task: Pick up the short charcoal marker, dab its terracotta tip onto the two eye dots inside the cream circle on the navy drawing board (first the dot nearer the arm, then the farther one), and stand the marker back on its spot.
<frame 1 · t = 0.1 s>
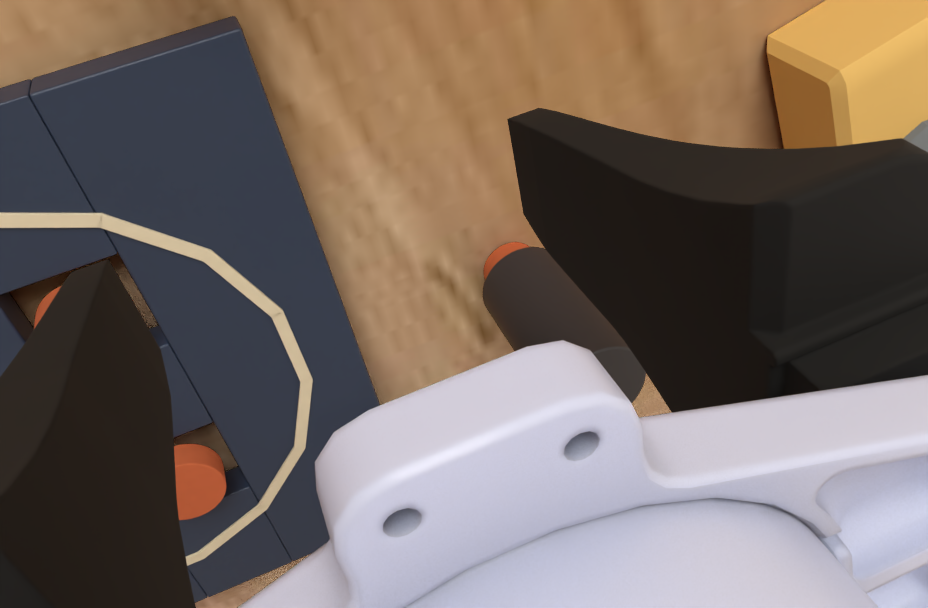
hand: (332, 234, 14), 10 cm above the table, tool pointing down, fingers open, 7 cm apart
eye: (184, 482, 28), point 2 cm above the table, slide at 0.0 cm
rubber stamp: (841, 113, 31), on the table
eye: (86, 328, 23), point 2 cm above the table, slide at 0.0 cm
marker: (509, 265, 29), on the table
face board: (76, 404, 26), on the table
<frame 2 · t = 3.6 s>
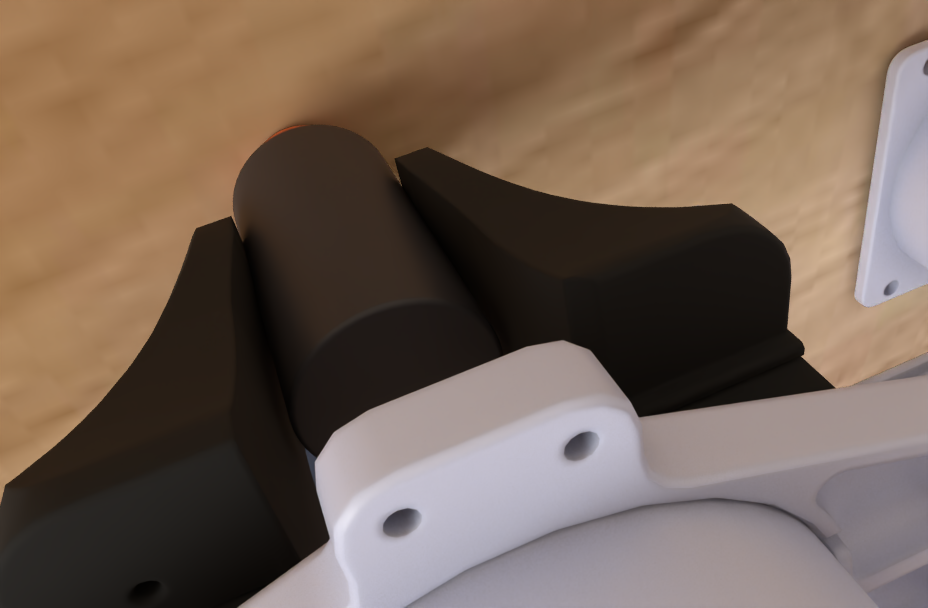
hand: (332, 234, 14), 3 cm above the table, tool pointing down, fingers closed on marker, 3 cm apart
marker: (302, 171, 16), on the table, touching gripper
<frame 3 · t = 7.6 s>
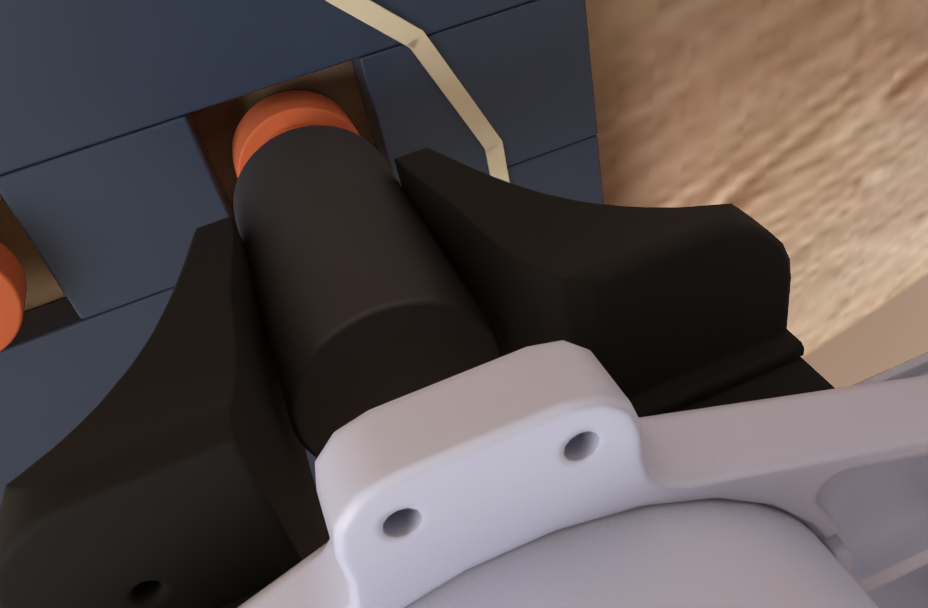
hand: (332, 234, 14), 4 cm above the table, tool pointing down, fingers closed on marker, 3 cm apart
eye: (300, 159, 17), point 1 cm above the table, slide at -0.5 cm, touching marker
marker: (302, 171, 16), point 1 cm above the table, touching gripper, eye
face board: (169, 272, 18), on the table
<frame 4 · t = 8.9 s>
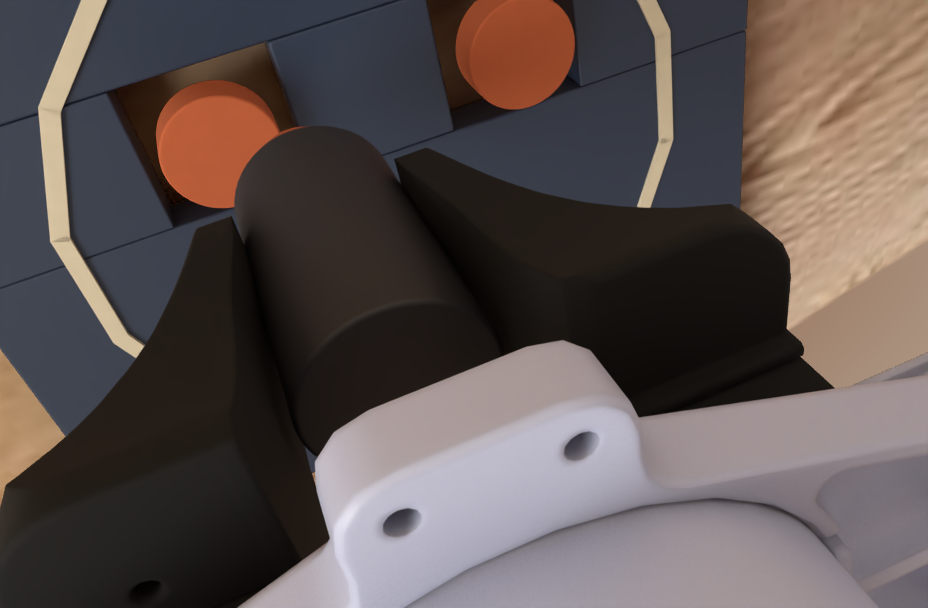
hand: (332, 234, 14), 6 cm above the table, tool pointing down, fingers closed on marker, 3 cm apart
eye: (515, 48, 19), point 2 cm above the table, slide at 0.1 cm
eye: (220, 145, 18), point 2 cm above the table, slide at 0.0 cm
marker: (303, 172, 16), point 4 cm above the table, touching gripper
face board: (376, 145, 21), on the table
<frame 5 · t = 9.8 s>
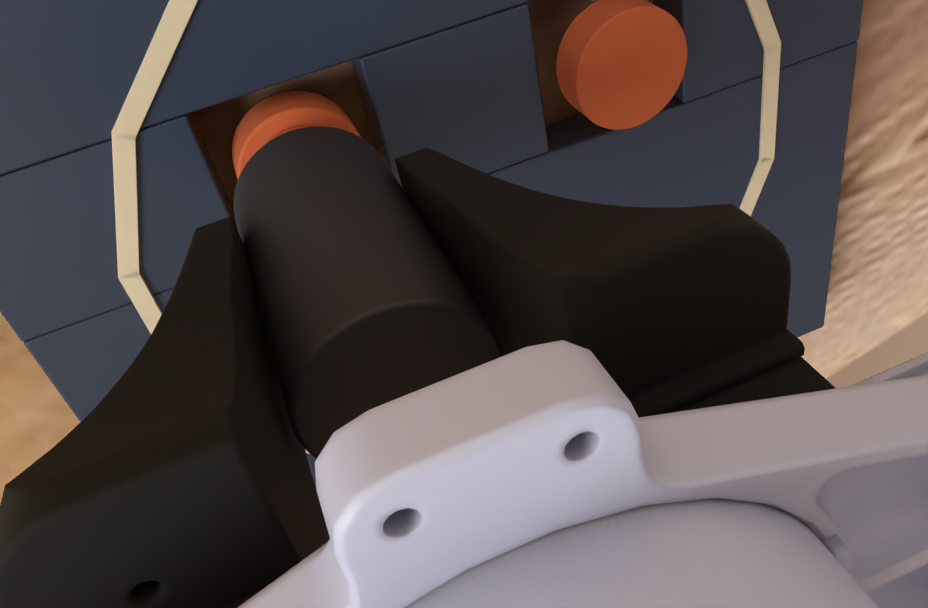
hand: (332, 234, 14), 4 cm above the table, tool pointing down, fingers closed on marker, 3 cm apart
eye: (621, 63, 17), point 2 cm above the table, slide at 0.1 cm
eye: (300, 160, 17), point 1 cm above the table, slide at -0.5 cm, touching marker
marker: (302, 172, 16), point 1 cm above the table, touching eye, gripper
face board: (461, 167, 19), on the table
when the fingers open (3 cm above the table, at t = 14.1 s): marker stays where it is, on the table.
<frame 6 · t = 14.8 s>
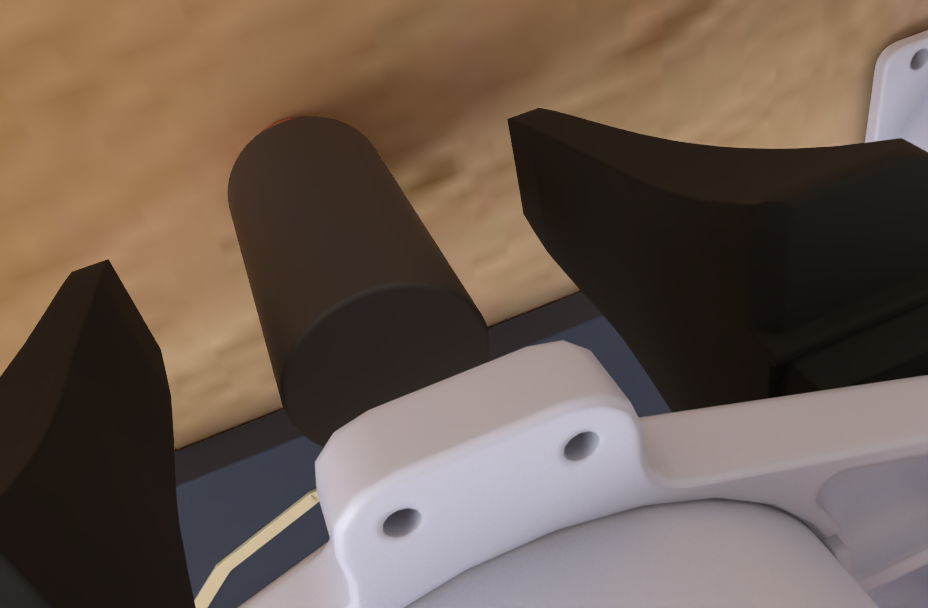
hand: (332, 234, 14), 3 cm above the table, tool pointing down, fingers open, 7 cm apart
marker: (296, 163, 17), on the table
face board: (417, 584, 26), on the table
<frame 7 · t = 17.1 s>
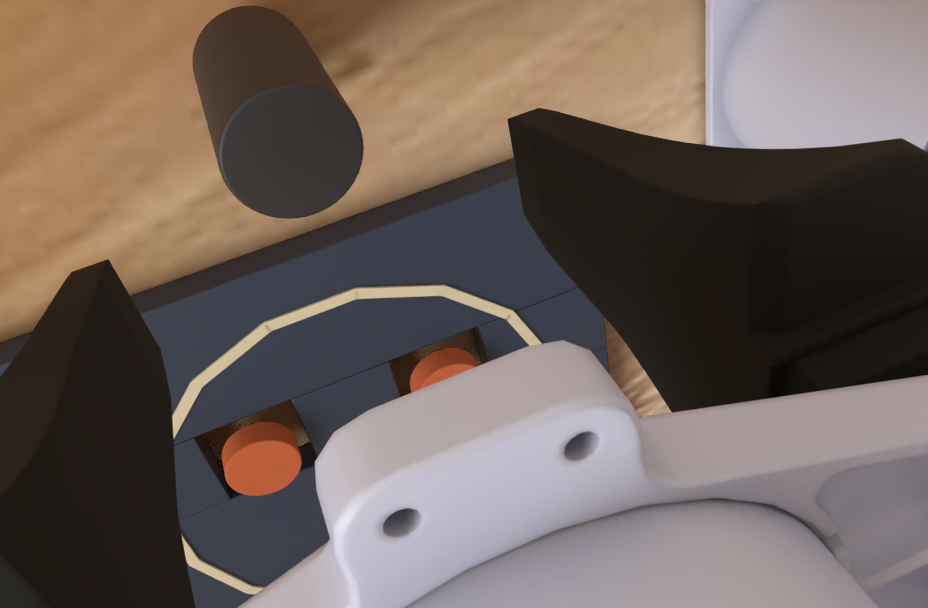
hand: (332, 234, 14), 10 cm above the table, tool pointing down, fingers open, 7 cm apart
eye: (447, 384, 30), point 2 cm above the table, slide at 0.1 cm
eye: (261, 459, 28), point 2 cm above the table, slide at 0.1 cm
marker: (246, 49, 22), on the table
face board: (360, 428, 31), on the table
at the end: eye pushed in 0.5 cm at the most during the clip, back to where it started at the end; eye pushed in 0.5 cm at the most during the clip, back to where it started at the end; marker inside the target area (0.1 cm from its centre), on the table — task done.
